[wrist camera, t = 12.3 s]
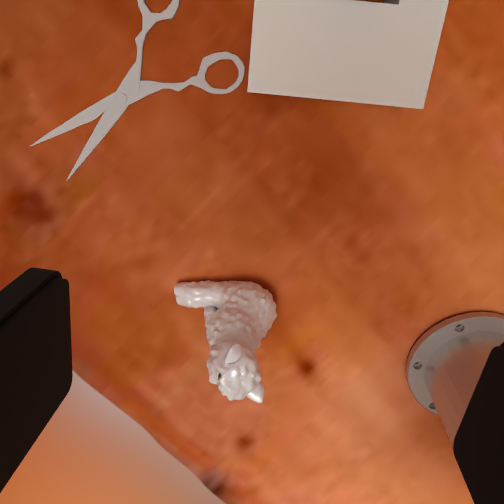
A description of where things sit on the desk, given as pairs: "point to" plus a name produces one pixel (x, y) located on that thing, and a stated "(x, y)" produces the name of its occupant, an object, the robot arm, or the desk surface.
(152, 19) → the scissors
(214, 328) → the seated beast figurine
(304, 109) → the desk surface
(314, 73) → the post base
